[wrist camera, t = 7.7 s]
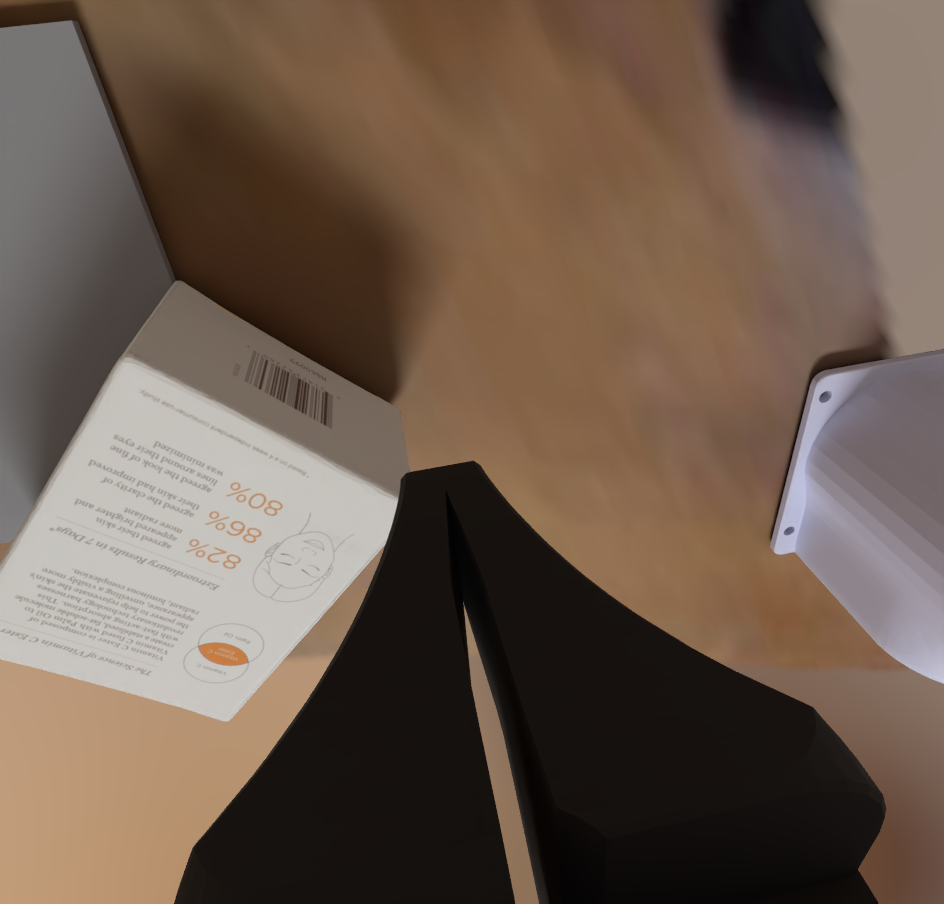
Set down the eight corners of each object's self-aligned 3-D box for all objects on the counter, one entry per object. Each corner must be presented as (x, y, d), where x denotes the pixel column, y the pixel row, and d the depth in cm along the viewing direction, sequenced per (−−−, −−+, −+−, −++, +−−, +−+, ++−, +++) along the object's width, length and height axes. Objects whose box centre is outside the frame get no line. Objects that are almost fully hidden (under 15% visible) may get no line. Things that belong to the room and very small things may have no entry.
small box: (179, 270, 17) (29, 517, 21) (120, 350, 13) (-60, 652, 16) (405, 410, 21) (247, 600, 24) (424, 512, 16) (226, 728, 20)
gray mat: (255, 490, 22) (253, 497, 22) (-21, 540, 21) (-27, 548, 21) (77, 21, 14) (71, 20, 14) (-375, 68, 13) (-392, 69, 13)
